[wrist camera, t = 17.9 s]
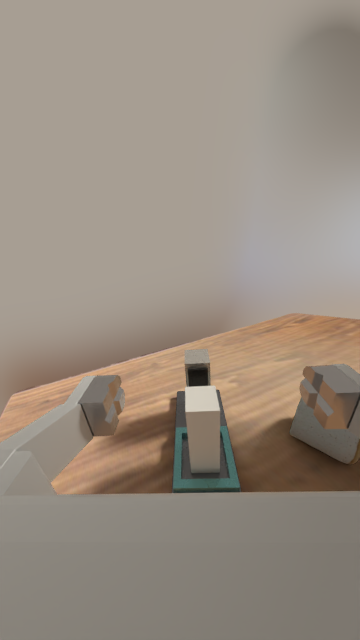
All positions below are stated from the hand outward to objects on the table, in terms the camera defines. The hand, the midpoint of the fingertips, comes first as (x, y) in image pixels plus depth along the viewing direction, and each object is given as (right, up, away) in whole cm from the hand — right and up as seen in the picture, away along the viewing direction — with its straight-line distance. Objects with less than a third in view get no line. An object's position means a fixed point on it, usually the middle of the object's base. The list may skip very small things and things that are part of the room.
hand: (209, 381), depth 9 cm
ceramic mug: (+22, -17, +23) cm, 36 cm away
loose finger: (+2, -18, +20) cm, 27 cm away
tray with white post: (+2, -17, +25) cm, 30 cm away
